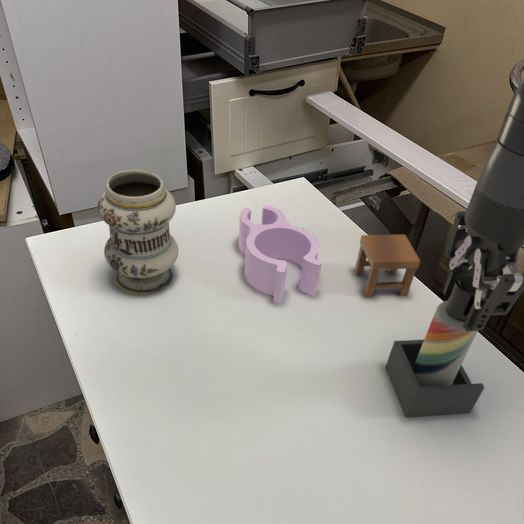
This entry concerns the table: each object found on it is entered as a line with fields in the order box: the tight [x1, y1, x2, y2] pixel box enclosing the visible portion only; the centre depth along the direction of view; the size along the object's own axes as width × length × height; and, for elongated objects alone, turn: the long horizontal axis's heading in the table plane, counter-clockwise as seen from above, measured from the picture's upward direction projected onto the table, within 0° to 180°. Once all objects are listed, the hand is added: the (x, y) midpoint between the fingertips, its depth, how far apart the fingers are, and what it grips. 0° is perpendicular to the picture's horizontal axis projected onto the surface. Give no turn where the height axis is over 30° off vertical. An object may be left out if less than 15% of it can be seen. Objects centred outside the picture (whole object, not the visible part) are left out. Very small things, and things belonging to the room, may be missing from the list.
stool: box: [354, 234, 421, 298], centre depth 91 cm, size 8×8×8 cm
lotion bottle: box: [412, 275, 489, 387], centre depth 70 cm, size 6×6×20 cm
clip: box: [238, 204, 323, 304], centre depth 93 cm, size 20×12×7 cm, turn 22°
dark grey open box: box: [385, 339, 485, 419], centre depth 75 cm, size 10×10×6 cm
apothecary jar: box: [97, 169, 179, 295], centre depth 85 cm, size 12×12×18 cm
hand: (460, 310), depth 66 cm, fingers open, 6 cm apart
